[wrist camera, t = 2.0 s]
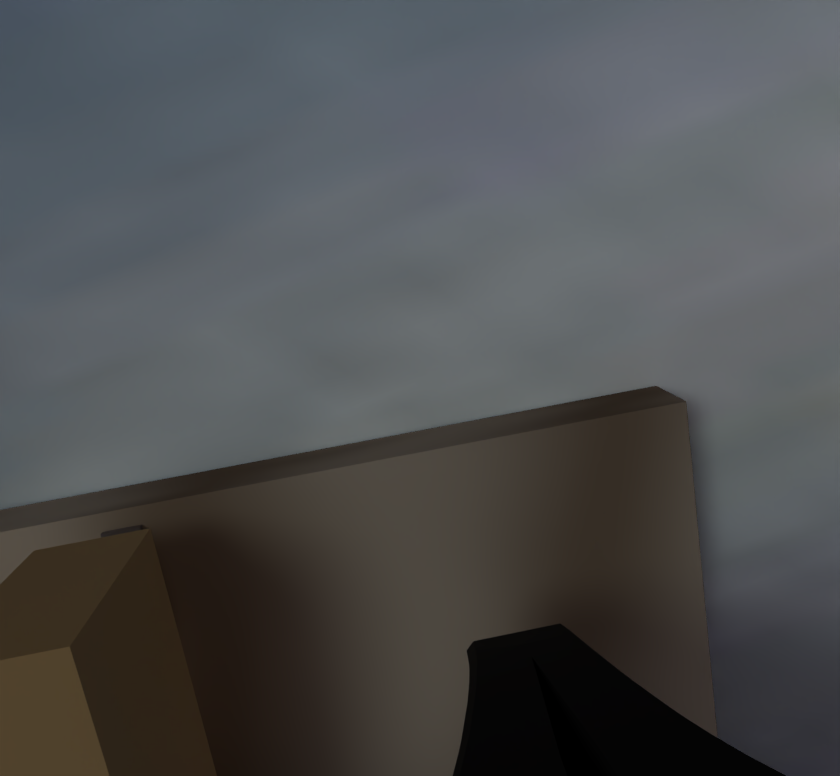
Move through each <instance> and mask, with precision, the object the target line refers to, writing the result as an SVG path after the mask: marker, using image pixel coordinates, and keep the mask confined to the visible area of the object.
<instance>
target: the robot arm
mask: <svg viewBox="0 0 840 776" xmlns="http://www.w3.org/2000/svg"><path fill="white" fill-rule="evenodd" d="M467 656H468V662H469V690H468V701H467V708H466V714H465V721H464V727H463V733H462V739H461V744H460V748H459V753H458V757H457V761H456V765H455V768H454V772H453V776H786V775H784V774H782V773H780V772H778V771H776V770H774V769H772V768H770V767H768V766H767V765H765V764H763V763H761V762H759V761H757V760H755V759H753V758H751V757H749V756H748V755H746V754H744V753H742V752H741V751H739V750H737V749H735V748H734V747H732V746H730V745H728V744H727V743H725V742H723V741H722V740H720V739H718V738H717V737H715V736H714V735H712V734H710V733H709V732H707V731H706V730H704V729H702V728H701V727H699V726H698V725H696V724H695V723H693V722H691V721H690V720H688V719H687V718H685V717H684V716H682V715H681V714H679V713H678V712H676V711H675V710H673V709H672V708H670V707H669V706H668V705H666V704H665V703H663V702H662V701H661V700H659V699H658V698H656V697H655V696H654V695H652V694H651V693H650V692H648V691H647V690H645V689H644V688H643V687H641V686H640V685H638V684H637V683H636V682H634V681H633V680H632V679H630V678H629V677H628V676H626V675H625V674H624V673H622V672H621V671H620V670H619V669H617V668H616V667H615V666H613V665H612V664H611V663H610V662H608V661H607V660H606V659H605V658H603V657H602V656H601V655H600V654H598V653H597V652H596V651H595V650H593V649H592V648H591V647H590V646H588V645H587V644H586V643H585V642H584V641H582V640H581V639H580V638H579V637H578V636H576V635H575V634H574V633H573V632H571V631H570V630H569V629H567V628H566V627H565V626H563V625H562V624H561V623H559V624H555V625H550V626H545V627H540V628H535V629H530V630H525V631H521V632H516V633H511V634H506V635H501V636H496V637H491V638H487V639H482V640H477V641H473V642H472V644H471V645H470V646H469V648H468V649H467Z"/></svg>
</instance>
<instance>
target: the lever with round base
mask: <svg viewBox="0 0 840 776" xmlns="http://www.w3.org/2000/svg"><path fill="white" fill-rule="evenodd" d="M0 776H217V774H216V770H215V766H214V763H213V759H212V755H211V752H210V748H209V744H208V740H207V737H206V733H205V729H204V726H203V722H202V718H201V714H200V711H199V707H198V703H197V700H196V696H195V692H194V689H193V685H192V681H191V677H190V674H189V670H188V666H187V663H186V659H185V655H184V651H183V648H182V644H181V640H180V637H179V633H178V629H177V625H176V622H175V618H174V614H173V611H172V607H171V603H170V599H169V596H168V592H167V588H166V585H165V581H164V577H163V574H162V570H161V566H160V562H159V559H158V555H157V551H156V548H155V544H154V540H153V536H152V533H151V529H150V528H149V529H143V530H138V531H133V532H128V533H123V534H117V535H112V536H107V537H102V538H97V539H91V540H86V541H81V542H76V543H71V544H65V545H60V546H55V547H50V548H45V549H39V550H34V551H33V552H32V553H31V554H30V555H29V556H28V557H27V558H26V559H25V560H24V561H23V562H22V563H21V564H20V565H19V566H18V567H17V568H16V569H15V570H14V571H13V572H12V573H11V574H10V575H9V576H8V577H7V578H6V579H5V580H4V581H3V582H2V583H1V584H0Z"/></svg>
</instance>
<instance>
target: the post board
mask: <svg viewBox="0 0 840 776" xmlns="http://www.w3.org/2000/svg"><path fill="white" fill-rule="evenodd" d="M149 528H150V529H151V533H152V536H153V540H154V544H155V548H156V551H157V555H158V559H159V562H160V566H161V570H162V574H163V577H164V581H165V585H166V588H167V592H168V596H169V599H170V603H171V607H172V611H173V614H174V618H175V622H176V625H177V629H178V633H179V637H180V640H181V644H182V648H183V651H184V655H185V659H186V663H187V666H188V670H189V674H190V677H191V681H192V685H193V689H194V692H195V696H196V700H197V703H198V707H199V711H200V714H201V718H202V722H203V726H204V729H205V733H206V737H207V740H208V744H209V748H210V752H211V755H212V759H213V763H214V766H215V770H216V774H217V776H453V772H454V768H455V765H456V761H457V757H458V753H459V748H460V744H461V739H462V733H463V727H464V721H465V714H466V708H467V701H468V690H469V662H468V656H467V649H468V648H469V646H470V645H471V644H472V642H473V641H477V640H482V639H487V638H491V637H496V636H501V635H506V634H511V633H516V632H521V631H525V630H530V629H535V628H540V627H545V626H550V625H555V624H559V623H561V624H562V625H563V626H565V627H566V628H567V629H569V630H570V631H571V632H573V633H574V634H575V635H576V636H578V637H579V638H580V639H581V640H582V641H584V642H585V643H586V644H587V645H588V646H590V647H591V648H592V649H593V650H595V651H596V652H597V653H598V654H600V655H601V656H602V657H603V658H605V659H606V660H607V661H608V662H610V663H611V664H612V665H613V666H615V667H616V668H617V669H619V670H620V671H621V672H622V673H624V674H625V675H626V676H628V677H629V678H630V679H632V680H633V681H634V682H636V683H637V684H638V685H640V686H641V687H643V688H644V689H645V690H647V691H648V692H650V693H651V694H652V695H654V696H655V697H656V698H658V699H659V700H661V701H662V702H663V703H665V704H666V705H668V706H669V707H670V708H672V709H673V710H675V711H676V712H678V713H679V714H681V715H682V716H684V717H685V718H687V719H688V720H690V721H691V722H693V723H695V724H696V725H698V726H699V727H701V728H702V729H704V730H706V731H707V732H709V733H710V734H712V735H714V736H715V737H717V726H716V716H715V705H714V694H713V684H712V673H711V662H710V651H709V641H708V630H707V619H706V609H705V598H704V587H703V576H702V566H701V555H700V544H699V534H698V523H697V512H696V502H695V491H694V480H693V469H692V459H691V448H690V437H689V427H688V416H687V405H686V401H684V400H682V399H680V398H678V397H676V396H674V395H673V394H671V393H669V392H667V391H665V390H663V389H661V388H659V387H657V386H654V387H648V388H643V389H638V390H632V391H627V392H622V393H617V394H611V395H606V396H601V397H595V398H590V399H585V400H580V401H574V402H569V403H564V404H558V405H553V406H548V407H543V408H537V409H532V410H527V411H521V412H516V413H511V414H506V415H500V416H495V417H490V418H484V419H479V420H474V421H469V422H463V423H458V424H453V425H447V426H442V427H437V428H432V429H426V430H421V431H416V432H410V433H405V434H400V435H395V436H389V437H384V438H379V439H373V440H368V441H363V442H358V443H352V444H347V445H342V446H336V447H331V448H326V449H321V450H315V451H310V452H305V453H299V454H294V455H289V456H284V457H278V458H273V459H268V460H262V461H257V462H252V463H247V464H241V465H236V466H231V467H225V468H220V469H215V470H210V471H204V472H199V473H194V474H189V475H183V476H178V477H173V478H167V479H162V480H157V481H152V482H146V483H141V484H136V485H130V486H125V487H120V488H115V489H109V490H104V491H99V492H93V493H88V494H83V495H78V496H72V497H67V498H62V499H56V500H51V501H46V502H41V503H35V504H30V505H25V506H19V507H14V508H9V509H4V510H0V584H1V583H2V582H3V581H4V580H5V579H6V578H7V577H8V576H9V575H10V574H11V573H12V572H13V571H14V570H15V569H16V568H17V567H18V566H19V565H20V564H21V563H22V562H23V561H24V560H25V559H26V558H27V557H28V556H29V555H30V554H31V553H32V552H33V551H34V550H39V549H45V548H50V547H55V546H60V545H65V544H71V543H76V542H81V541H86V540H91V539H97V538H102V537H107V536H112V535H117V534H123V533H128V532H133V531H138V530H143V529H149ZM717 738H718V737H717Z"/></svg>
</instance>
